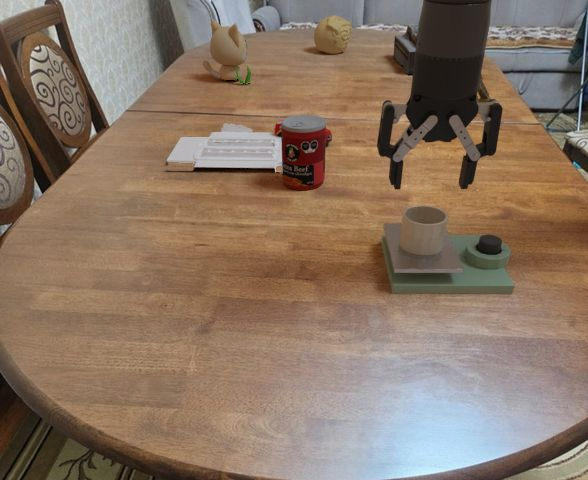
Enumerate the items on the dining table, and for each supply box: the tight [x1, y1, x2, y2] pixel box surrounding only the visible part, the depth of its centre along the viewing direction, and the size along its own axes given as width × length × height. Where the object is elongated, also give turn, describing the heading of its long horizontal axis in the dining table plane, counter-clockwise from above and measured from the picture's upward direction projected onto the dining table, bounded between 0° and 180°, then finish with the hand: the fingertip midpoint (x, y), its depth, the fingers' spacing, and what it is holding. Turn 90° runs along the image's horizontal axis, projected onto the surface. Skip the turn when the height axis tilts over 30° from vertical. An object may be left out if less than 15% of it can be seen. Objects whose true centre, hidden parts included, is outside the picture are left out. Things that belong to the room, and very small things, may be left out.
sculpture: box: [313, 14, 352, 55], centre depth 182 cm, size 11×12×11 cm
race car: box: [273, 119, 333, 144], centre depth 117 cm, size 13×5×4 cm, turn 58°
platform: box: [382, 222, 464, 273], centre depth 76 cm, size 9×13×1 cm
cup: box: [399, 204, 450, 255], centre depth 75 cm, size 6×6×4 cm
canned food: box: [281, 114, 327, 191], centre depth 98 cm, size 8×8×11 cm
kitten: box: [202, 18, 252, 84], centre depth 153 cm, size 15×10×15 cm
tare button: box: [477, 234, 503, 255], centre depth 76 cm, size 3×3×2 cm
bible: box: [393, 24, 418, 76], centre depth 167 cm, size 23×27×10 cm
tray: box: [166, 122, 282, 173], centre depth 113 cm, size 20×28×4 cm
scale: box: [380, 234, 515, 295], centre depth 77 cm, size 17×14×3 cm
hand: (429, 187), depth 71 cm, fingers open, 8 cm apart
